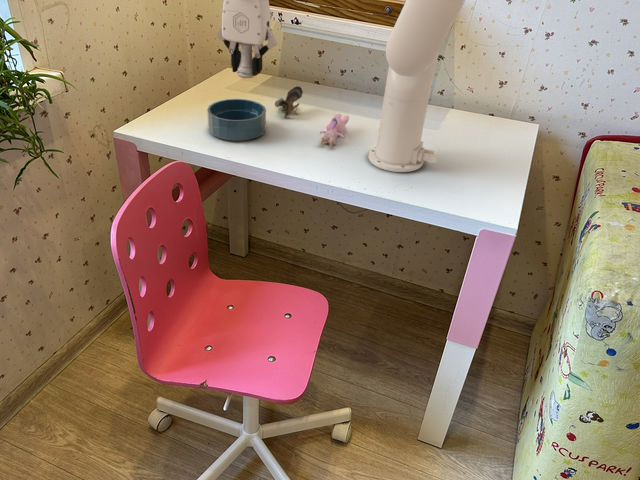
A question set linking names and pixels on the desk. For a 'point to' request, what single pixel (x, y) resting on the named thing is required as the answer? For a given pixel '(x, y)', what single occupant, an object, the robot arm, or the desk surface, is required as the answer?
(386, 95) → the robot arm
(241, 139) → the bowl
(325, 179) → the desk surface
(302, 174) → the desk surface
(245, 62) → the rook chess piece
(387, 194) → the desk surface
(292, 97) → the eagle figurine
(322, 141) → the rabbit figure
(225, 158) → the desk surface
